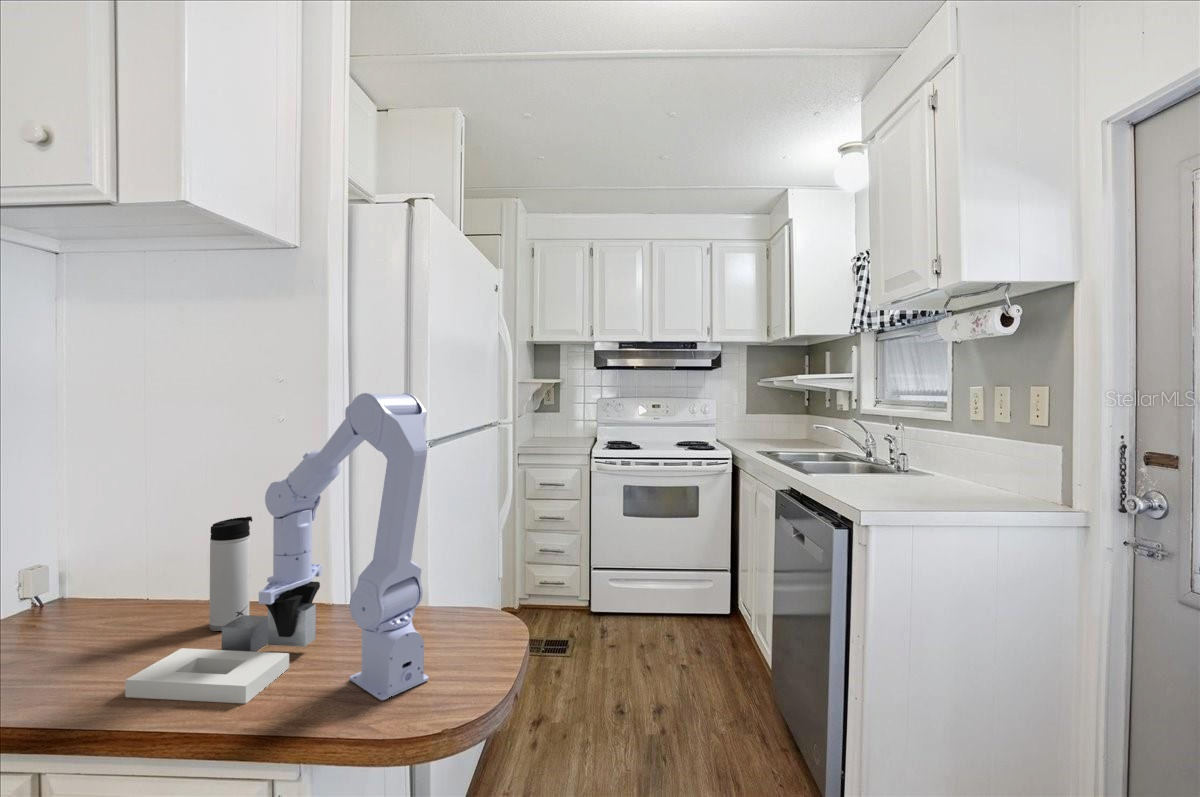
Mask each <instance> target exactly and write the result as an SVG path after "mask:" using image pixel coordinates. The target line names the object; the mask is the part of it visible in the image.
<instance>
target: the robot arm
mask: <svg viewBox="0 0 1200 797" xmlns="http://www.w3.org/2000/svg"><path fill="white" fill-rule="evenodd" d="M427 412H428V410H426V408H425V407H424V405H423V404H422V403H421V401H420V400H419V399H418V397H417V396H415V395H414V394H412V393H407V392H406V393H405V392H404V393H391V394H390V393H370V392H362V393H360V394H358V395H357V396H355V397H354V399H353V400H352V401H351V403H350V404H349V405H347V407H345V412H344V414H345V416H344V417H345V418H344V420H343V421H342V422H341V423H340V425H339V426H338V427H337V429H336V431H334V433H333V434H332V435H331V437H330V438H329V440H327V441H326V443H325V445H323V447H322V448H321V449H320V450H318V449H317V450H312V451H308V452H305V454H304V455H303V456H302V458H303V459H302V460H301V461H300V462H299V463H298V464H297V466H296V467H295V468H294V469H293V470H292V471H290V472H289V473H288V474H287V475H288V476H287V477H286V478H285V479H282V480H277V481H273V482H271V483H270V484H269V486H268V488H267V490H266V492H265V495H264V504H265V507H266V509H267V511H268V513H269V515H271V516H273V524H272V526H273V530H272V531H273V536H272V538H273V542H272V543H273V548H272V549H273V550H272V551H273V553H272V554H273V556H272V557H273V559H272V560H273V561H272V562H273V563H272V568H273V570H272V573H273V574H272V575H269V576H268V577H267V581H266V582H267V585H266V586H264V588H263V589H261V590H260V591H259V592H258V604H259V605H265V607H266V608H267V610H268V609H269V611H270V612H271V614H272V616H273V619H274V622H275V625H276V628H277V632H278V635H279V637H291V636H292V635H293V633H294V628H295V619H296V613H297V609H298V605H299V603H307V604H313V601H314V599H315V596H316V595H317V592H318V591H319V589H320V587H321V583H320V581H313V580H314V578H315V577H320V576H322V575H323V564H322V563H320V564H319V563H312V562H313V558H312V557H313V553H312V552H313V521H314V520H315V518H316V511H317V508H318V507H319V505H320V503H321V494H322V493H323V492H324V491H325V490H326V489H327V488H328V486H329V485H330V484H331V483H332V482H333V481H334V480H335V479H336V478H337V477H338V476H339V474H340V472H341V465H340V463H342V462H343V461H344V460H345V459H346V458H347V457H348V456H349V455H350V454H351V453H353V452H354V450H356V449H357V448H358V447H359V446H360V445H361V444H362V443H363V442H364V441H366V442H367V443H368V444H370V445H371V447H373V448H374V449H376V450H377V451H378V452H381V453H382V454H383V455H384V457H385V458H386V460H387V461H386V468H385V473H384V479H383V480H384V481H383V488H382V495H381V501H380V508H379V515H378V521H377V529H376V536H375V544H374V547H373V548H374V549H373V555H372V556H373V557H372V560H371V562H369V564H367V566H366V567H365V569H363V571H362V572H361V573H360V575H358V578H357V584H356V588H355V589H354V591H353V592H352V594H351V597H350V599H349V612H350V615H351V618H352V620H353V621H354V623H355V624H356V625H357V627H358V628H359V629H361V663H360V664H361V671H359V672H357V673H355V674H352V675H350V676H349V681H351V682H352V683H354V684H356V685H357V686H359V687H360V688H362V689H363V690H364V691H366V692H368V693H369V694H371V695H372V696H374V697H375V698H377V699H378V700H379V701H385V700H388V699H389V697H390V698H392V697H394V696H396V695H399V694H400V693H402V692H403V693H404V692H405V691H408V690H409V689H411V688H414V687H417V686H418V685H420V684H423V683H425V682H427V681H428V680H430V678H429V676H428V675H427V674H425V672H424V671H425V665H424V664H425V643H424V642H425V641H424V638H423V637H422V635H421V634H420V633H419V632H418V631H417V630H416V629H415V627H414V624H413V617H414V616H415V614H416V613H415V612H416V611H415V610H416V608H417V607H418V606H419V605H420V604H421V602H422V599H423V594H424V593H423V592H424V590H423V585H422V582H421V581H422V580H421V578H422V577H421V576H422V575H421V574H422V568H421V566H419V565H418V563H416V562H414V561H413V560H412V555H413V549H414V541H415V536H416V528H417V522H418V518H419V517H418V515H419V509H420V503H421V495H422V491H423V484H424V483H423V482H424V476H425V472H426V471H425V469H426V464H427V458H428V445H427V439H426V432H425V427H426V421H427V415H428V413H427ZM391 696H392V697H391Z"/></svg>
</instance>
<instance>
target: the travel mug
mask: <svg viewBox="0 0 1200 797" xmlns="http://www.w3.org/2000/svg"><path fill="white" fill-rule="evenodd" d="M251 522H253V517H252V516H249V515H248V516H246V517H245V516H244V517H242V516H241V517H233V518H228V519H225V520H220V521H217V522H215V523H213V524H212V525H211V526H210V540H209V621H208V622H209V623H208V624H209V630H210V631H212V632H215V631H222V627H223V626H225V625H226V624H228V623H230V622H232V621H233V620H235V619H237V618H239V617H240V616H242V615H250V596H251V595H250V589H251V588H250V584H251V583H250V581H251V578H250V574H251V567H250V566H251V559H250V558H251V534H250V533H251V532H250V529H251V528H250V527H251V526H250V523H251Z"/></svg>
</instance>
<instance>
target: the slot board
mask: <svg viewBox="0 0 1200 797" xmlns="http://www.w3.org/2000/svg"><path fill="white" fill-rule="evenodd" d="M288 668H289V669H290V652H289V653H287V652H272V651H271V652H269V651H267V652H266V651H265V652H264V651H260V652H250V651H229V650H222V649H207V648H206V649H204V648H182V647H181V648H179V649H178V650H176V651H174V652H173V653H171V654H168V655H167V656H165V657H163V658H162V659H160V660H158V661H156V662H154V663H153V664H151V665H149V666H147V667H145V668H144V669H142V670H140V671H139V672H137V673H135V674H133V675H131V676H130V677H128V678H126V679H125V684H124V685H125V689H124V690H125V693H124V695H125V698H135V699H153V700H173V701H190V702H191V701H192V702H212V703H225V704H226V703H228V704H229V703H231V704H247V703H249V701H251V700H252V699H253V698H254V697H256V696H257V695H259V692H260V693H261V692H262V691H263V690H265V689H266V688H267V687H269V686H270V685H271V684H272V683H274V682H275V681H276V680H277V679H278V678H279V676H280V675H281V674H282V673H283V674H285V673H286V672H287V671H288V670H289V669H288ZM287 669H288V670H287ZM286 670H287V671H286ZM285 671H286V672H285ZM284 672H285V673H284ZM283 674H282V675H283ZM282 675H281V676H282ZM281 676H280V677H281ZM277 677H278V678H277ZM275 679H276V680H275ZM274 680H275V681H274ZM270 683H271V684H270ZM269 684H270V685H269ZM265 687H266V688H265ZM264 688H265V689H264Z"/></svg>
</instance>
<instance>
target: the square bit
mask: <svg viewBox="0 0 1200 797" xmlns="http://www.w3.org/2000/svg"><path fill="white" fill-rule="evenodd" d="M267 644H268V615H252V614H251V615H250V614H249V615H242V616H240V617H239V618H237V619H235V620H233V621H232V622H230V623H228V624H226V625H225V626H223V627H222V632H221V650H229V651H250V652H257V651H258V650H259V649H261V648H262V647H264V646H266V645H267Z"/></svg>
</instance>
